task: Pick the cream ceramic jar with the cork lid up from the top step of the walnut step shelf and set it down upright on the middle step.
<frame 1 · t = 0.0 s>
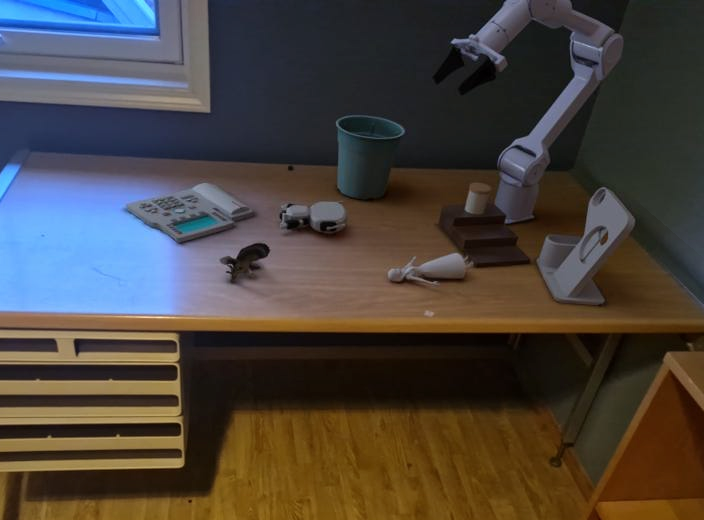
hand: (446, 85, 129), 32 cm above the table, tool tilted 50°, fingers open, 7 cm apart
flower pot: (361, 191, 166), on the table
woman figurine: (427, 277, 134), on the table
step shelf: (482, 243, 148), on the table
office telephone: (194, 215, 148), on the table
phone holder: (568, 282, 137), on the table
jar: (474, 210, 150), point 5 cm above the table, touching step shelf
robot toy: (312, 227, 148), on the table
brown animal figurine: (244, 275, 130), on the table
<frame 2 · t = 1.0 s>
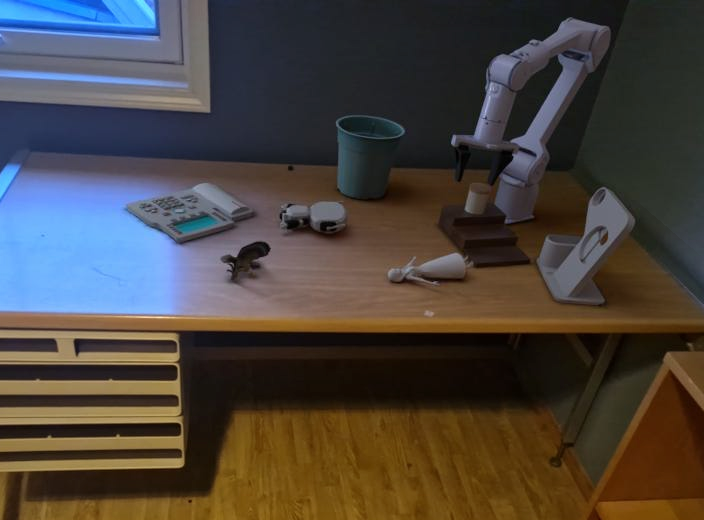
hand: (473, 182, 144), 12 cm above the table, tool pointing down, fingers open, 7 cm apart
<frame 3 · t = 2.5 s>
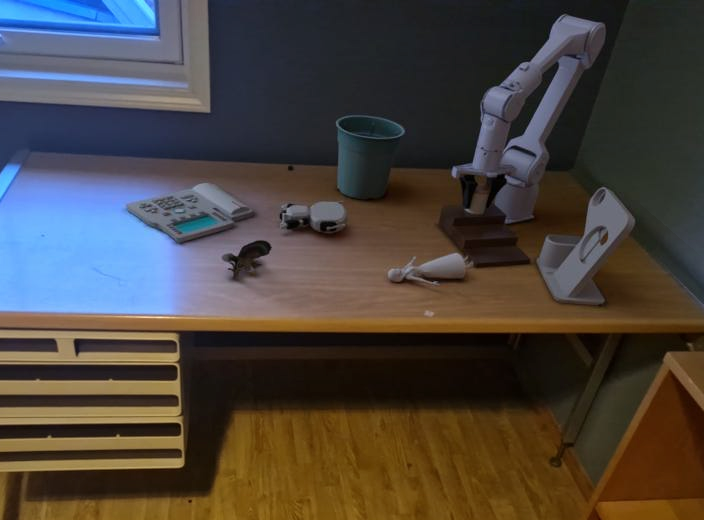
hand: (475, 206, 149), 6 cm above the table, tool pointing down, fingers closed on jar, 4 cm apart
jar: (474, 210, 150), point 5 cm above the table, touching gripper, step shelf
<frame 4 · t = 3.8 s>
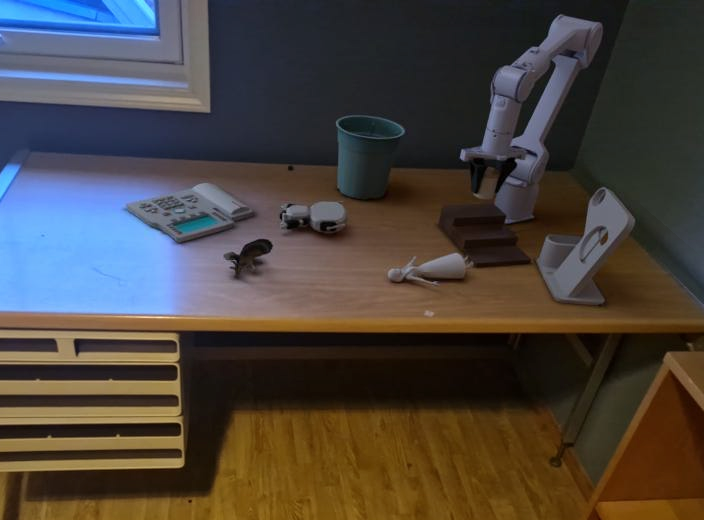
hand: (484, 191, 145), 10 cm above the table, tool pointing down, fingers closed on jar, 4 cm apart
jar: (483, 195, 145), point 10 cm above the table, touching gripper
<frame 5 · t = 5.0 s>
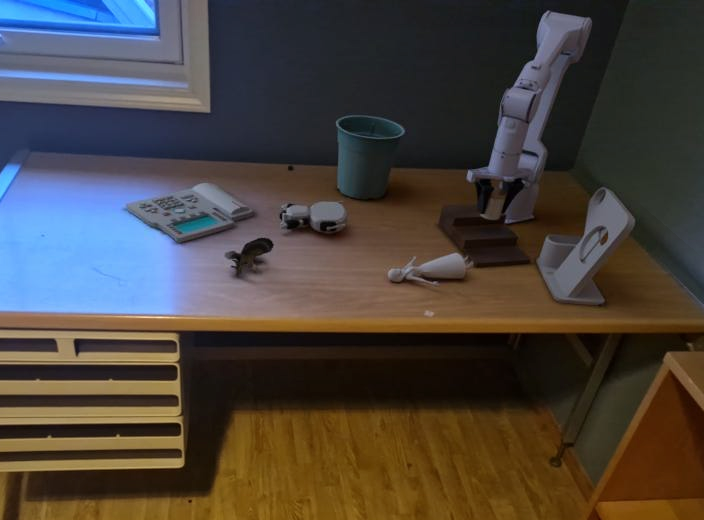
hand: (490, 211, 143), 8 cm above the table, tool pointing down, fingers closed on jar, 4 cm apart
jar: (489, 215, 144), point 7 cm above the table, touching gripper
when the fingers open (4 cm above the table, at t = 6.6 s): jar stays where it is, resting on step shelf.
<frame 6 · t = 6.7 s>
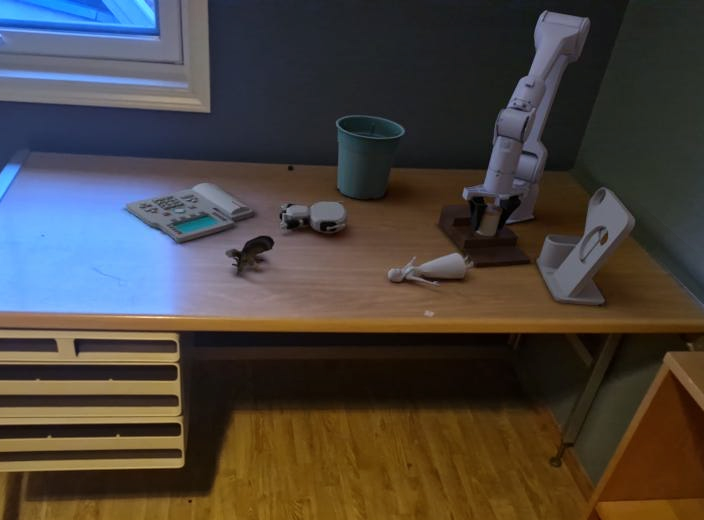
hand: (486, 228, 145), 4 cm above the table, tool pointing down, fingers open, 5 cm apart
jar: (485, 231, 146), point 3 cm above the table, touching step shelf
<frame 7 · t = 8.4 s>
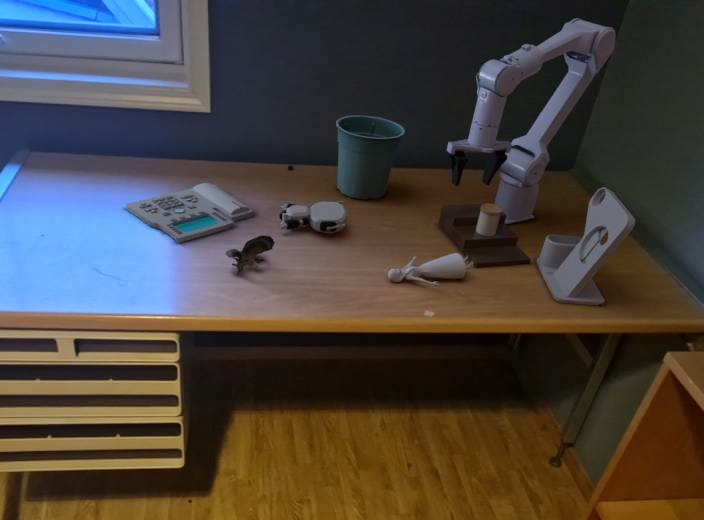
hand: (470, 183, 148), 10 cm above the table, tool pointing down, fingers open, 7 cm apart
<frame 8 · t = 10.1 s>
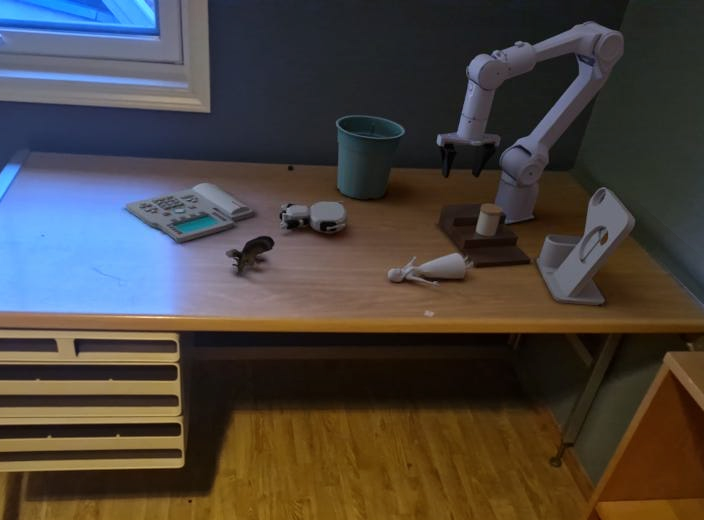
hand: (459, 176, 151), 10 cm above the table, tool pointing down, fingers open, 7 cm apart
at the end: jar inside the target area on the step shelf (0.0 cm from its centre), point 3.0 cm above the step shelf's base; jar tilted 0°; the gripper is holding nothing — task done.
